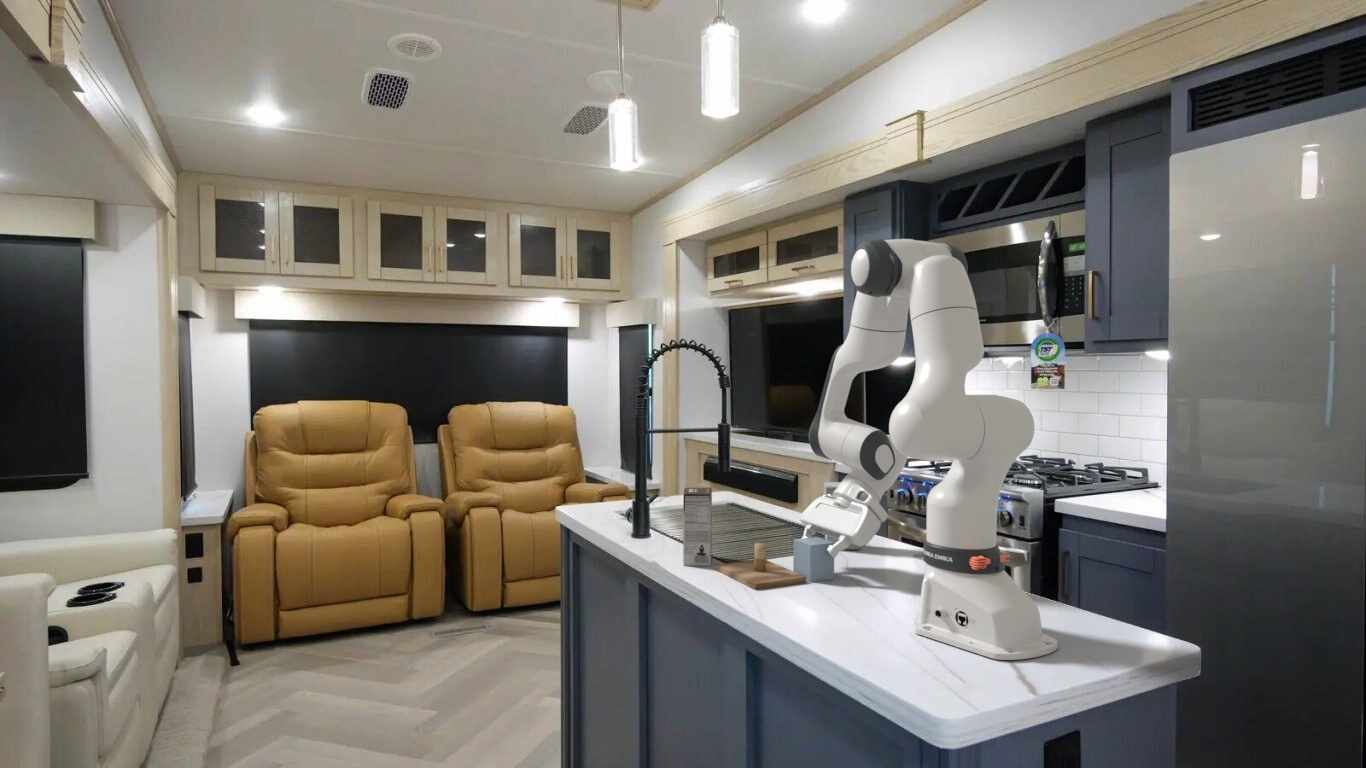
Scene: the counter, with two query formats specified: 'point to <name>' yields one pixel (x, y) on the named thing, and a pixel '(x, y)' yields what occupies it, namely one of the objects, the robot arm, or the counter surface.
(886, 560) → the counter surface
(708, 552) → the coffee box
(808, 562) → the pale blue cube
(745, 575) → the post base
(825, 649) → the counter surface
